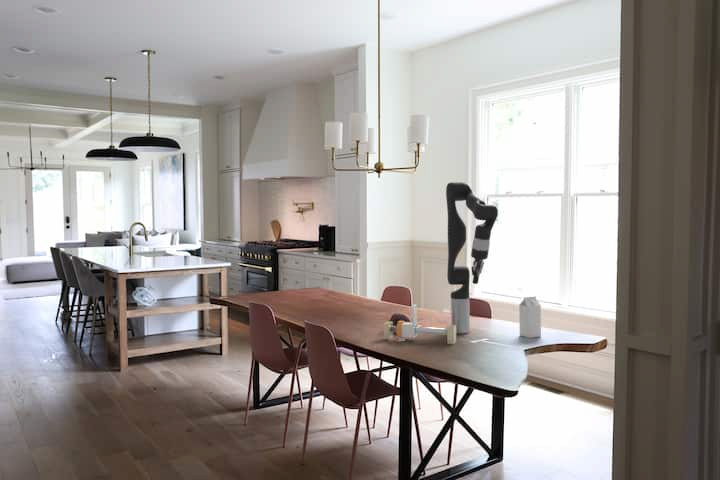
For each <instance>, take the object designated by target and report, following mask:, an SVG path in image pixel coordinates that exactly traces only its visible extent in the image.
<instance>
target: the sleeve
mask: <svg viewBox="0 0 720 480" xmlns="http://www.w3.org/2000/svg"><path fill="white" fill-rule="evenodd" d="M415 327H419V325H418V305H417V303H415V304H413V305H411V321H410V322H405V323H403V324H402V337H409V339H410V338H411V339H414V338H417V336H419V334H418V333H415Z"/></svg>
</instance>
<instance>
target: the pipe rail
mask: <svg viewBox="0 0 720 480" xmlns="http://www.w3.org/2000/svg"><path fill="white" fill-rule="evenodd" d="M396 328H397V326H393V322H389V320H388V321H385V322H384V323H383V339H384V338H386V339H390V338H392V337H393V338H394V333H396ZM415 333H418V335H419V334H421V335H422V334H423V335H438V336H447V337H446V338H447V339H446V340H447V344H448V345H455V344H456V343H457V333H456V325H451V324H449V325H448V326H446V328H444V327H442V328H440V327H426V326H425V327H423V326H422V327H421V326H418V327H415ZM393 338H392V339H393Z"/></svg>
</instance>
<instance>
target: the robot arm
mask: <svg viewBox="0 0 720 480" xmlns="http://www.w3.org/2000/svg"><path fill="white" fill-rule="evenodd" d="M445 188H446V189H445V195H446V196H445V198H446V209H447V253H448V256H447V282H448V284H449V285H451V286H452V285H453V286H454V285H455V286H456V285H459V286H460V285H461V287H459V288H458V289H456V290H454V291H452V292H451V293H450V325H456V334H469V333H471V332H470V331H471V330H470V329H471V325H470V324H471V322H470V321H471V319H470V315H471V314H470V313H471V312H470V278H471V276H470V275H472V276H473V279H472V283H473V284H475V285H478V284H479V279H480V275H481V274H482V271H483V268H484V265H485V262H484V260H487V259H488V257H489V251H490V245H491V244H490V242H491V241H490V240H491V234H492V233H491V232H492V230H493V228H494V225H495V223H496V221H497V218H498V215H499V211H498V207H497V206H496V205H493V204H486V202H485V201H484V200H483V199H481V198H480V197H478V196H477V195H476V193H475V191H474V190H473V189H472V188H471V186H470V185H469V184H468V183H466V182H459V181H458V182H454V181H453V182H449V183H447V184H446V187H445ZM462 201H463V202H464V201H465V206H466V207H467V209H469V211H470V212H471V213H472V214H473V217H474V218H475V219H476V220H479V221H484V223H481V224H477V225H476V226H475V230H474V236H473V237H474V238H473V241H472V247H471V254H470V256H471V258H473V259H474V260H473V262H472V266H471V274H470V268H469V267H468V266H466V265H463V266H460V265H459V266H458V265H457V266H456V260H457V257H458V256H459V254H460V253H461V250H462V249H463V248H464V246H465V244H466V242H467V226H466V223H465V222H464V220H463V219H462V217H461V216H460V214H459V211H458V209H457V205H456V202H462Z"/></svg>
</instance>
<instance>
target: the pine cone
mask: <svg viewBox="0 0 720 480" xmlns="http://www.w3.org/2000/svg"><path fill="white" fill-rule="evenodd" d="M398 321H404V322H411V320H410V318H408V316H406V315H405V314H402V313H401V314H400V313H398V314H397V312H396V313H394V314H391V316H390V319H389V320H388V322H393V326H397V324H398Z"/></svg>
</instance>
